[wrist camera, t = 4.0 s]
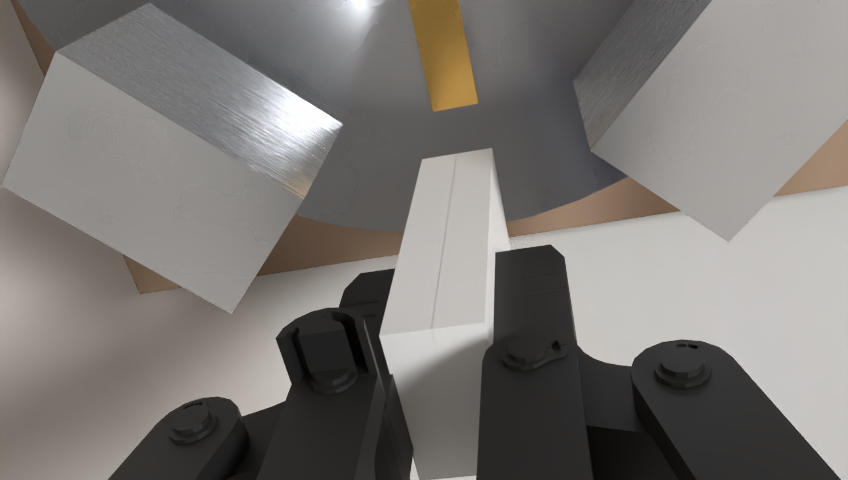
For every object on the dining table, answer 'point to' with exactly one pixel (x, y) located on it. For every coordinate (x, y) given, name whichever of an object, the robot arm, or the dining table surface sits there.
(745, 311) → the dining table surface
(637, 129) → the notched metal disc
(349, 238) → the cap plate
